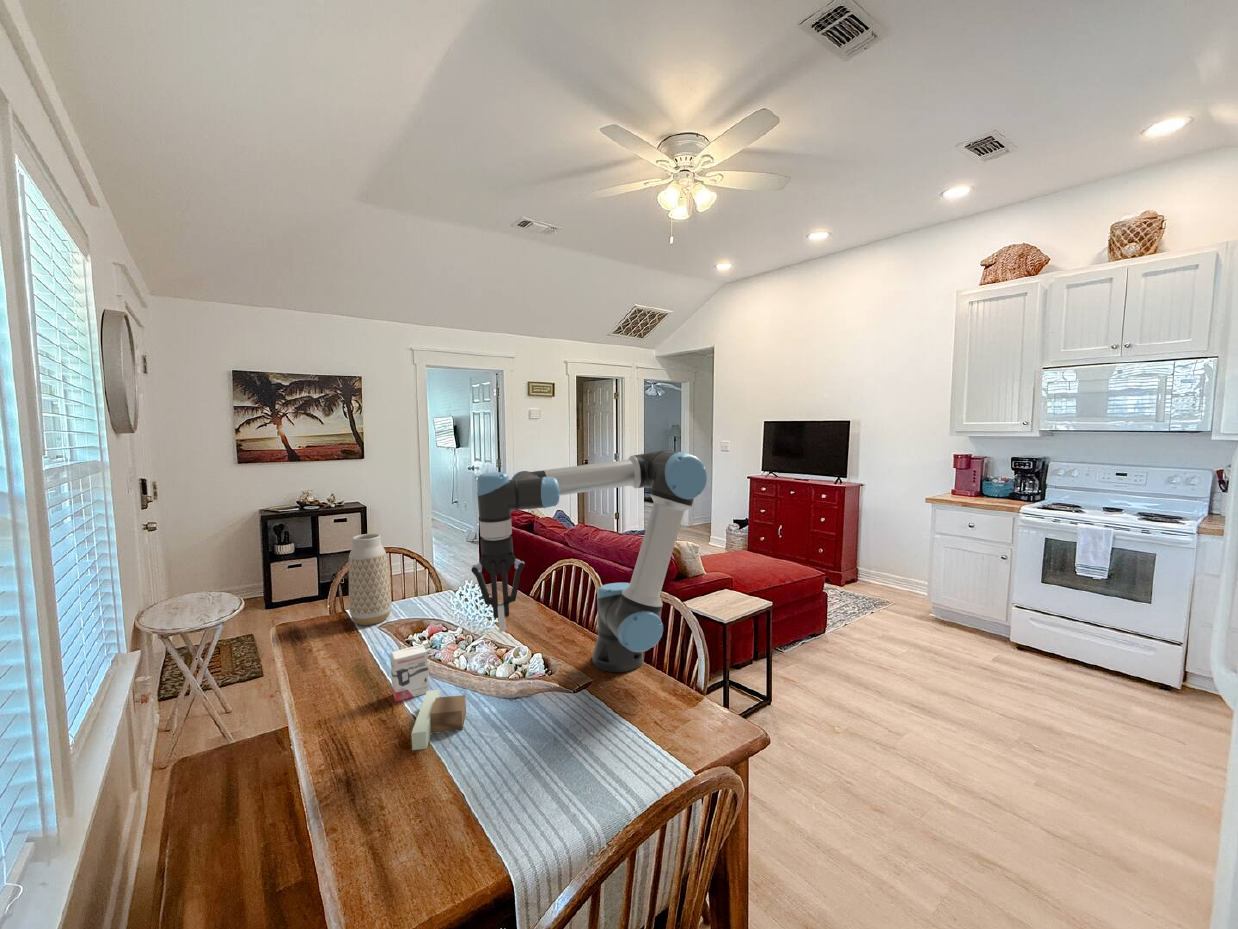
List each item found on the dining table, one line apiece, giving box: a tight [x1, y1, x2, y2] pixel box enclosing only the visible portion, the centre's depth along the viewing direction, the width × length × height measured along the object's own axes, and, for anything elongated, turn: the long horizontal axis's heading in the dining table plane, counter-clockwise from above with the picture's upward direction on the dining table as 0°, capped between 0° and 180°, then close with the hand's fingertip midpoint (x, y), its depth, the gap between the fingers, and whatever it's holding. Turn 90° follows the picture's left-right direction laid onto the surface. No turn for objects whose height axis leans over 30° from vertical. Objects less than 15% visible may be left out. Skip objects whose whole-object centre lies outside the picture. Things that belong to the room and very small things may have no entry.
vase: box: [348, 533, 392, 626], centre depth 190 cm, size 14×14×31 cm
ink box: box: [389, 644, 430, 703], centre depth 141 cm, size 8×5×12 cm, turn 123°
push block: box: [430, 694, 467, 734], centre depth 128 cm, size 7×7×5 cm
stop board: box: [411, 689, 441, 751], centre depth 127 cm, size 3×18×4 cm, turn 9°
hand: (502, 629), depth 132 cm, fingers closed
